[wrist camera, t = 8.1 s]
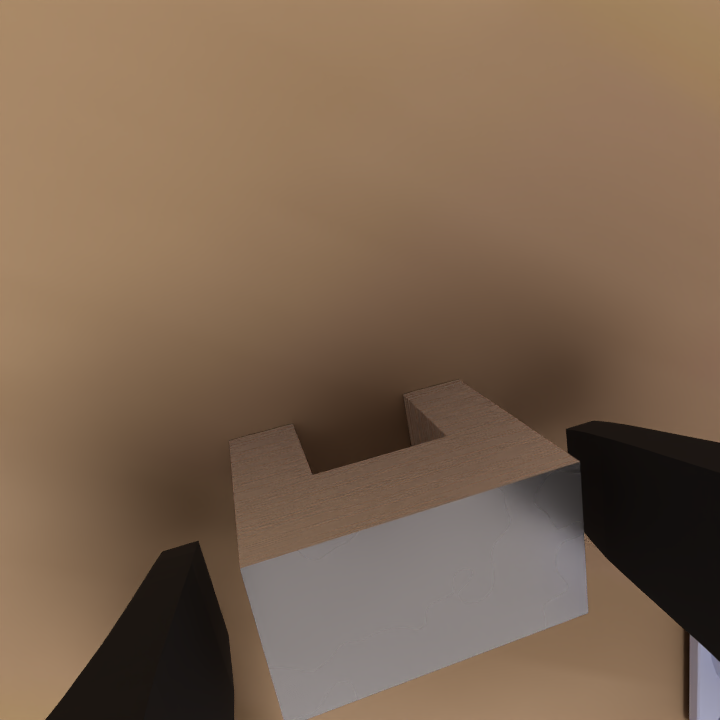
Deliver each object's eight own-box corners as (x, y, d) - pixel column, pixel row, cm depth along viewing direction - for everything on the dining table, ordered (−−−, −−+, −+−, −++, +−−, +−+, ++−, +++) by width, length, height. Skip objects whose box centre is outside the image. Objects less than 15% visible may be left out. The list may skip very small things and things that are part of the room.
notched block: (458, 379, 13) (579, 461, 9) (472, 490, 14) (587, 613, 10) (229, 440, 12) (240, 568, 8) (260, 556, 13) (285, 727, 8)
